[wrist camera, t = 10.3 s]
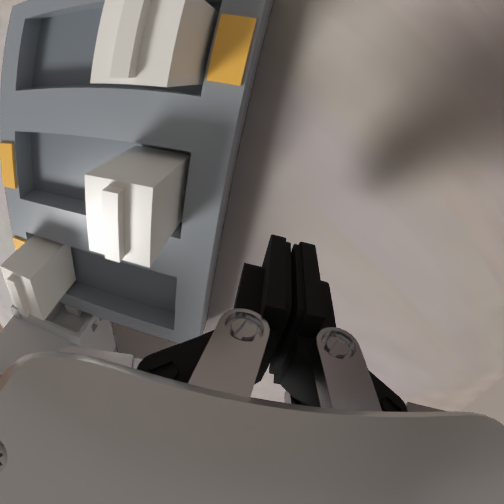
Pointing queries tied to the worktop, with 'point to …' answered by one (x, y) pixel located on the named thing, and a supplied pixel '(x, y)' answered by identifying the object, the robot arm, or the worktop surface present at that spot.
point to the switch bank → (116, 142)
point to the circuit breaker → (53, 333)
